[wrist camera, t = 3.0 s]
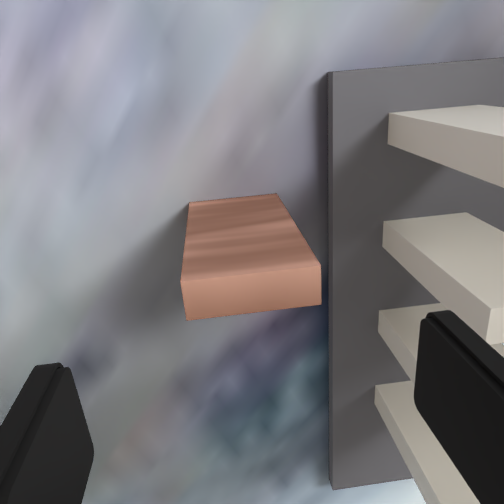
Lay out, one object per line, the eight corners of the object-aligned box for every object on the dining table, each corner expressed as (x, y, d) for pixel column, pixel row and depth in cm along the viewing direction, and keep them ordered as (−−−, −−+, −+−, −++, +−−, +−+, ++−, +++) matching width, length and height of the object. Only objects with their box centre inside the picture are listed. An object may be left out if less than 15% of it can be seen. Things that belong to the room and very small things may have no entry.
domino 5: (375, 385, 29) (453, 527, 20) (444, 375, 30) (553, 511, 20) (374, 403, 30) (449, 548, 21) (442, 393, 30) (546, 533, 21)
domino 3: (383, 221, 24) (491, 308, 15) (466, 212, 25) (619, 293, 16) (382, 246, 25) (484, 345, 16) (462, 237, 25) (608, 329, 16)
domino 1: (189, 202, 24) (180, 281, 15) (276, 193, 24) (320, 265, 15) (193, 228, 25) (186, 320, 15) (278, 219, 25) (321, 304, 16)
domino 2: (389, 112, 22) (519, 139, 13) (480, 104, 22) (671, 125, 13) (387, 143, 23) (511, 190, 14) (476, 135, 23) (655, 175, 14)
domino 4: (378, 310, 27) (470, 432, 18) (454, 301, 27) (581, 416, 18) (377, 331, 27) (465, 460, 18) (451, 322, 28) (573, 444, 19)
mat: (327, 72, 22) (333, 72, 21) (527, 55, 23) (541, 54, 22) (329, 478, 34) (332, 490, 33) (461, 459, 35) (468, 469, 34)
